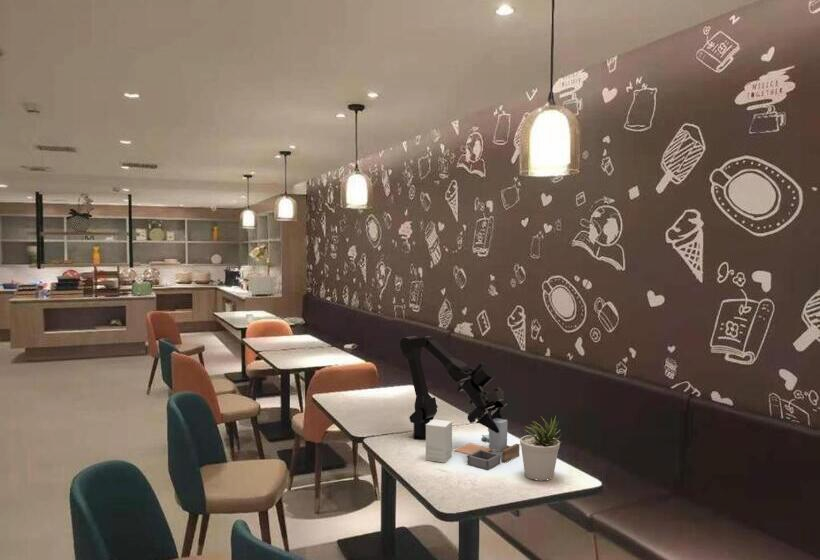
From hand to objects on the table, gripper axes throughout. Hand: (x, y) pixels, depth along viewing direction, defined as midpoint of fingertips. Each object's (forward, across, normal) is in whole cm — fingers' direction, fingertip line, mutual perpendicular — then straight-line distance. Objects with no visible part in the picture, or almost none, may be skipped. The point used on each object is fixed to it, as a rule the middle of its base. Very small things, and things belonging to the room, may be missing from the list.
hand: (501, 430), depth 206 cm
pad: (-1, 0, +15) cm, 15 cm away
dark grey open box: (+6, -9, +8) cm, 13 cm away
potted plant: (+20, -7, -6) cm, 22 cm away
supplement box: (-4, -15, +18) cm, 24 cm away
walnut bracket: (+6, +1, +7) cm, 10 cm away
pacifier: (-2, +15, +17) cm, 22 cm away
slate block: (+4, 0, +6) cm, 7 cm away
